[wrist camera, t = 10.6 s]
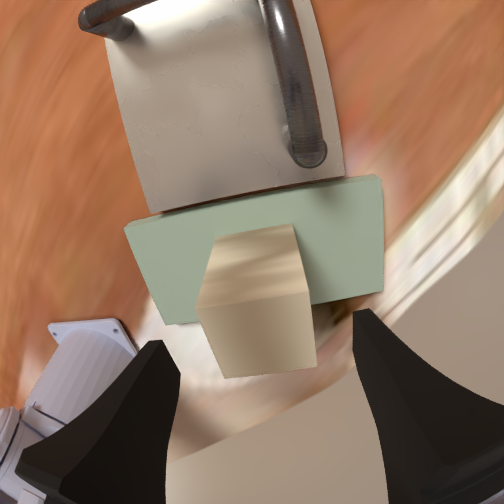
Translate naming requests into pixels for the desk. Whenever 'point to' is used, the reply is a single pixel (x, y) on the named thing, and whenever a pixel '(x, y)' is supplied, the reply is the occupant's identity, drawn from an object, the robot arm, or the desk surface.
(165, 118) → the beige flat handled piece
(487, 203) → the desk surface
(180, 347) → the desk surface
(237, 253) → the maple block
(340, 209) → the pad
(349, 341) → the desk surface
